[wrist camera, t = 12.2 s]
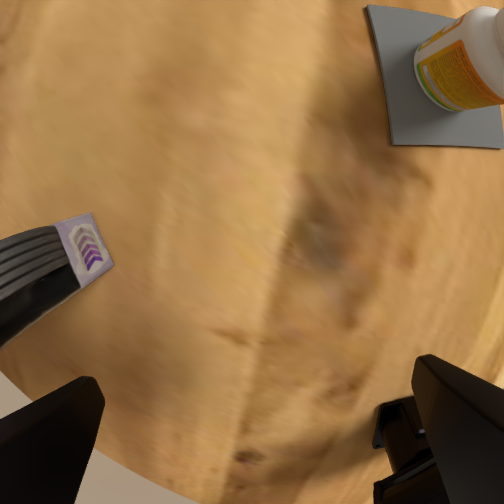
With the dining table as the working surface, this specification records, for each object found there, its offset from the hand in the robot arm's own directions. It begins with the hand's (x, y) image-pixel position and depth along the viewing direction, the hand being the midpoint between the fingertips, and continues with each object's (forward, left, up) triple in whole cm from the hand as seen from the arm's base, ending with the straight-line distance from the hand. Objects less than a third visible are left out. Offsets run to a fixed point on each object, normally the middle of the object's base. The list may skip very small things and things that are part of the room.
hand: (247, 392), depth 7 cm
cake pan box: (0, +19, -13) cm, 23 cm away
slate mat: (+11, -14, -13) cm, 22 cm away
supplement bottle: (+11, -14, -13) cm, 22 cm away
